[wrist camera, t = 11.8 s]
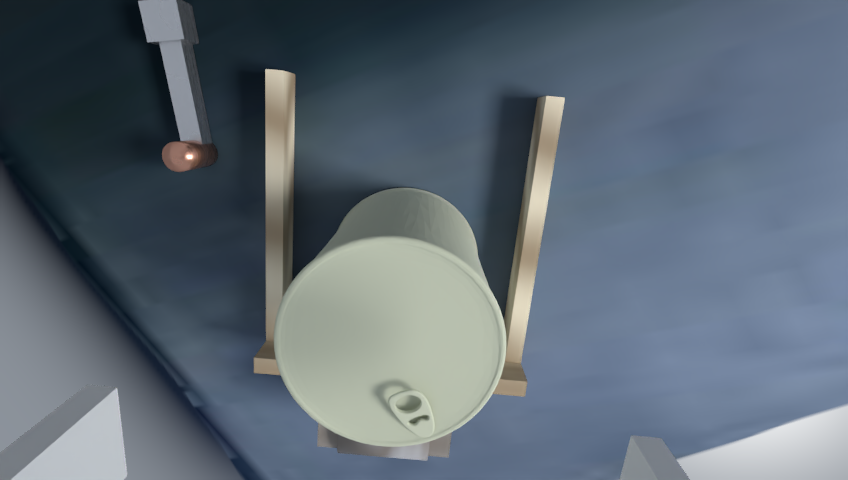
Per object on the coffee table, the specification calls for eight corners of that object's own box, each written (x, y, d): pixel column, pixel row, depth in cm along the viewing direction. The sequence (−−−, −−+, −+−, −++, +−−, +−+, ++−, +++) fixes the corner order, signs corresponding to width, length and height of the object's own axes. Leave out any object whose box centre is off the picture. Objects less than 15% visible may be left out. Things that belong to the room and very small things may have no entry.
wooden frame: (277, 72, 26) (227, 57, 19) (554, 99, 26) (595, 92, 19) (276, 389, 31) (236, 459, 25) (505, 409, 31) (524, 483, 25)
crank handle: (156, 8, 25) (119, -7, 22) (191, 4, 25) (159, -11, 22) (191, 167, 27) (162, 173, 24) (223, 164, 27) (198, 170, 24)
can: (367, 343, 30) (328, 484, 18) (309, 218, 28) (223, 290, 16) (497, 297, 29) (541, 416, 17) (447, 164, 27) (461, 200, 15)
